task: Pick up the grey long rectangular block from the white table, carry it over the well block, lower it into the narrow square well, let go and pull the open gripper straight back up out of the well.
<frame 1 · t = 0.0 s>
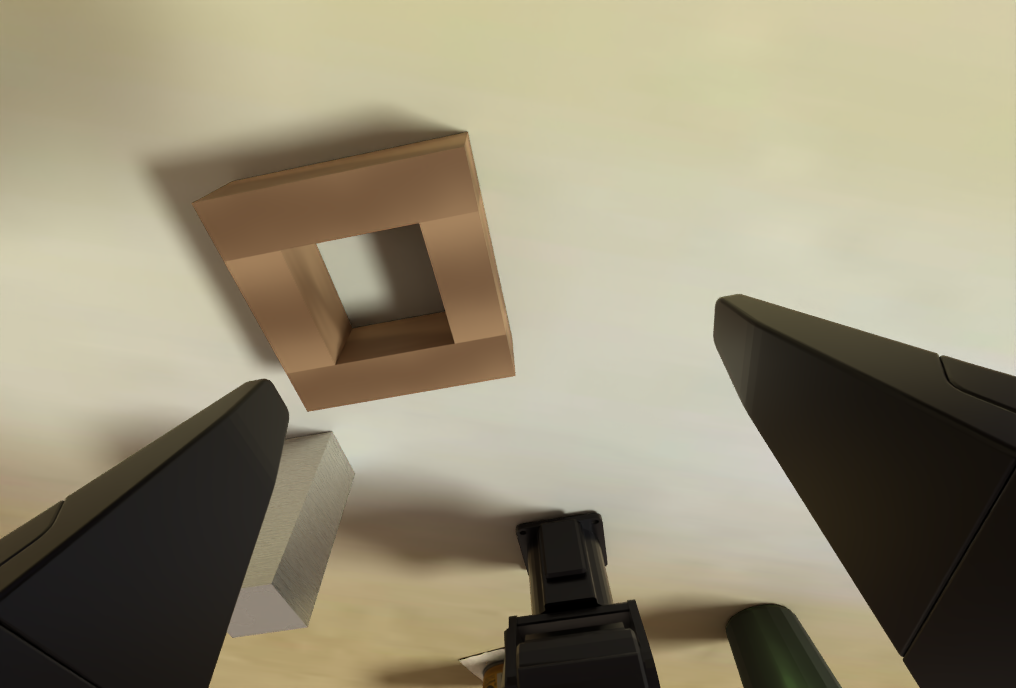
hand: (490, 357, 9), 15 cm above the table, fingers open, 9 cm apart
condiment: (509, 665, 48), on the table
well block: (387, 268, 24), on the table
potion bottle: (757, 619, 45), on the table
grey long rectangular block: (315, 458, 31), on the table
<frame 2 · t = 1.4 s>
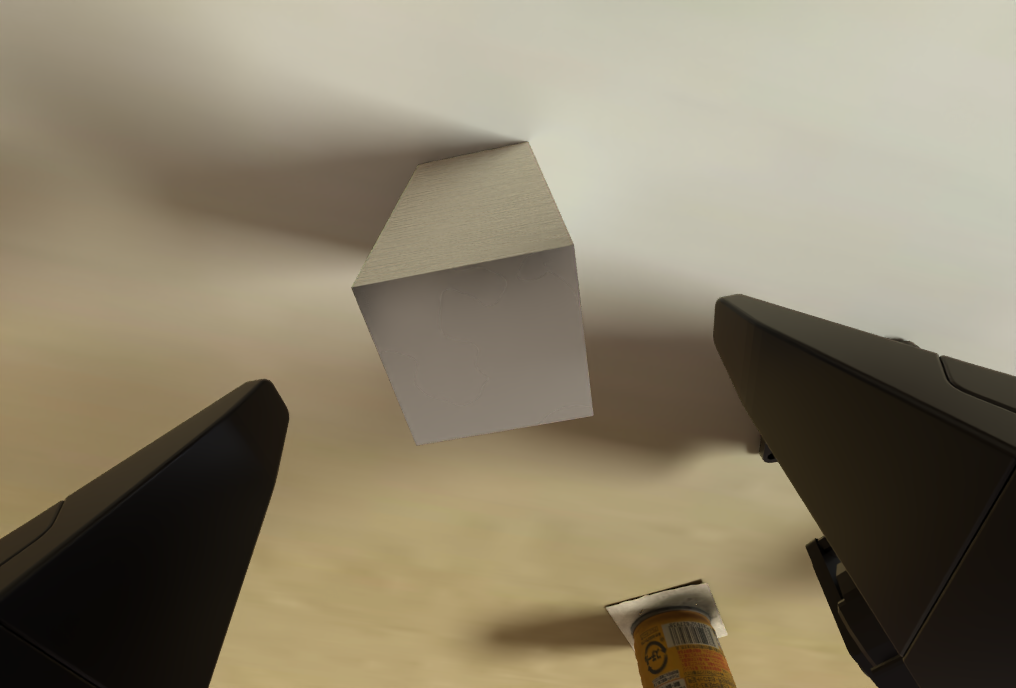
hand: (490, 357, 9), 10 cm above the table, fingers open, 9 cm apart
condiment: (667, 616, 35), on the table
grey long rectangular block: (484, 208, 18), on the table
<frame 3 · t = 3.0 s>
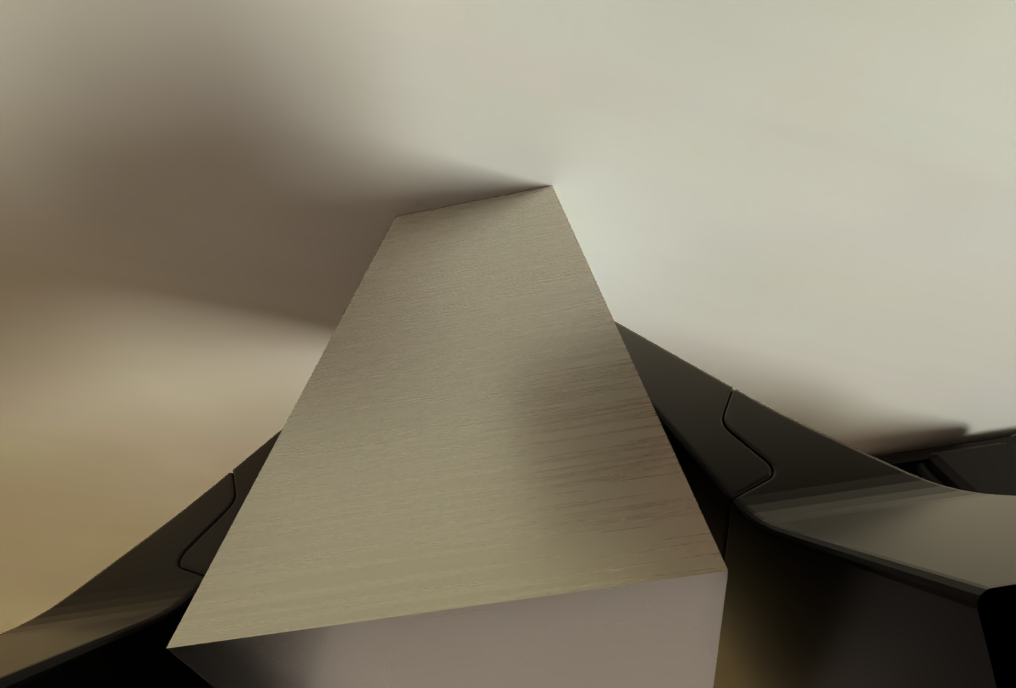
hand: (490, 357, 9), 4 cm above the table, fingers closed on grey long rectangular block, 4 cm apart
grey long rectangular block: (489, 273, 13), on the table, touching gripper
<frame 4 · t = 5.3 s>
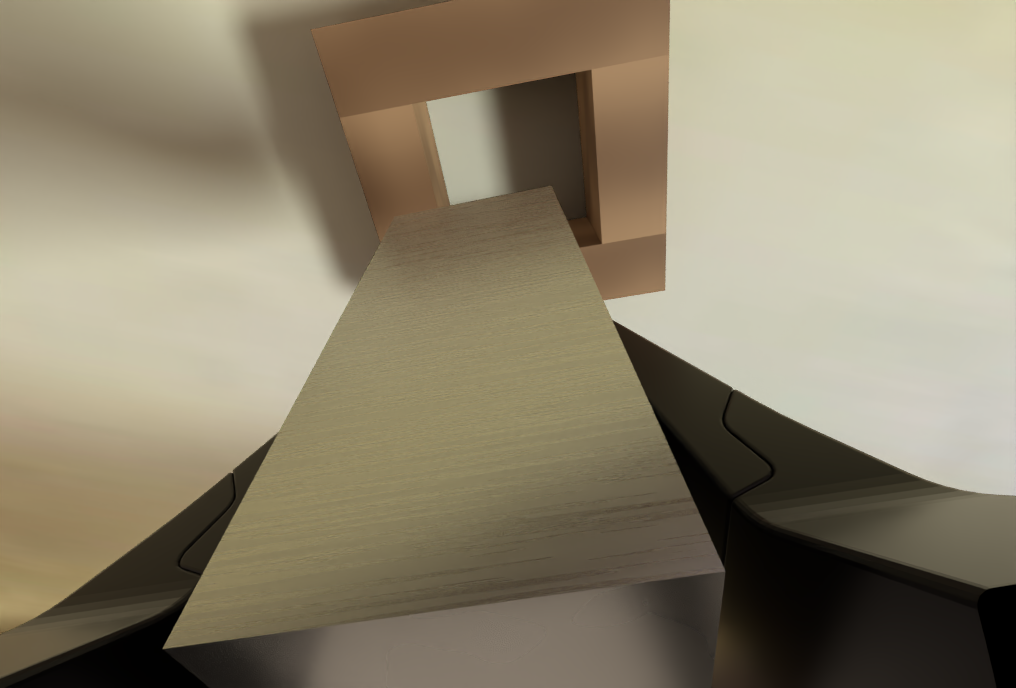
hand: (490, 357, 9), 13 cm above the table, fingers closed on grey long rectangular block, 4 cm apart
well block: (511, 160, 20), on the table
grey long rectangular block: (488, 273, 13), point 9 cm above the table, touching gripper
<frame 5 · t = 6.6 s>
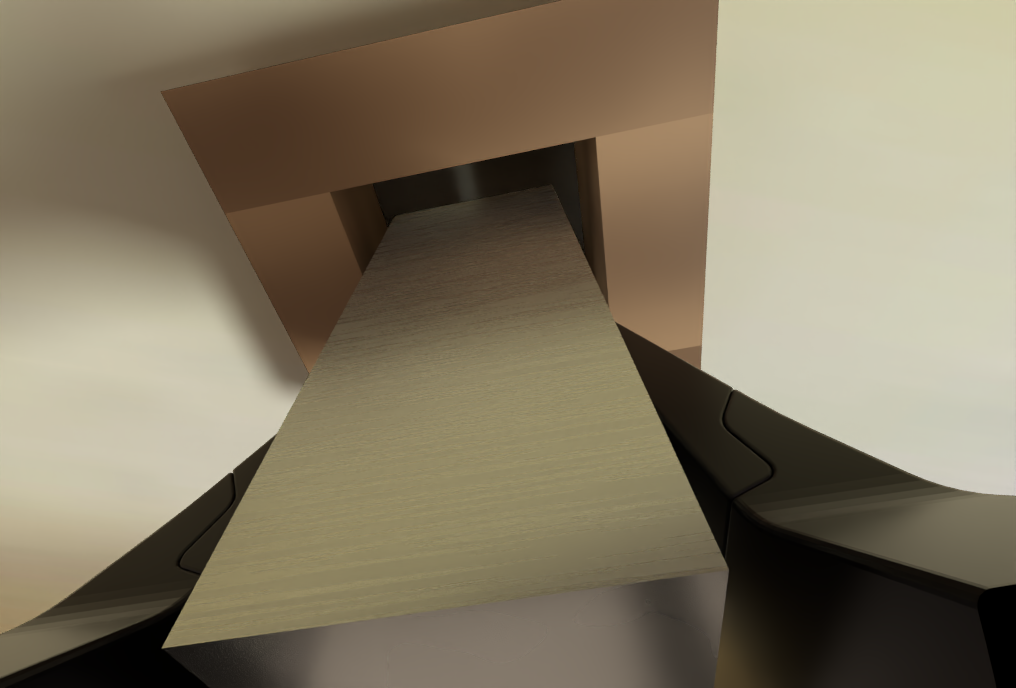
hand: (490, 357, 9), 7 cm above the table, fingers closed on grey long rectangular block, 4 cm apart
well block: (487, 237, 15), on the table
grey long rectangular block: (488, 272, 13), point 3 cm above the table, touching gripper
when the fingers open (5 cm above the table, at t = 7.6 s): grey long rectangular block drops 1 cm, resting in well block.
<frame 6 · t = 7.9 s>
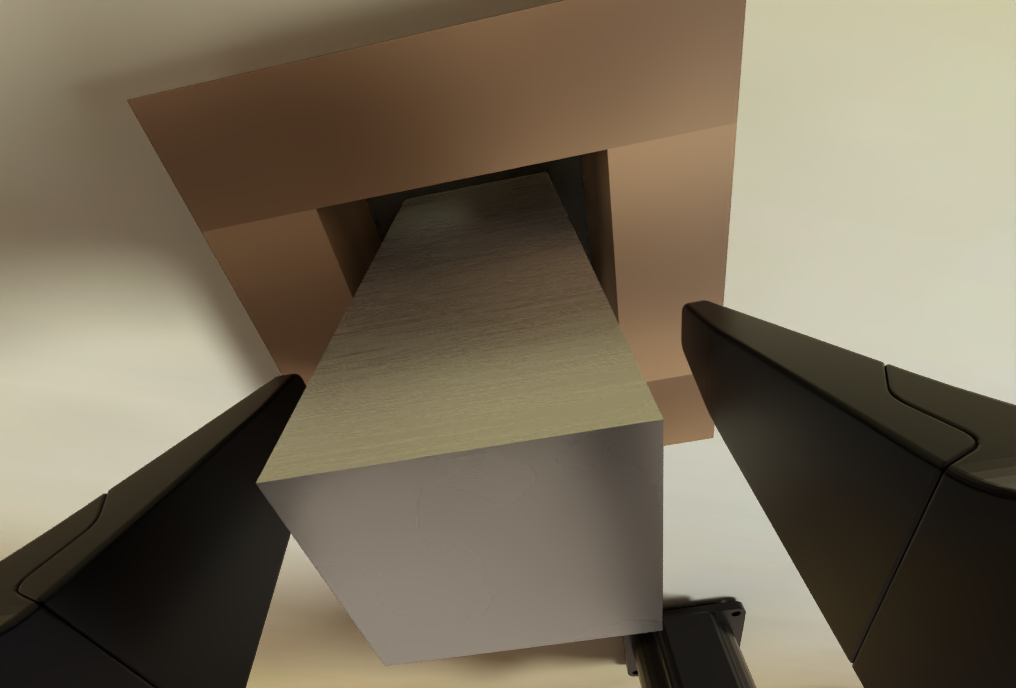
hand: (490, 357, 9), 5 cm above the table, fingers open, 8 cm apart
well block: (488, 252, 14), on the table
grey long rectangular block: (489, 252, 14), resting in well block
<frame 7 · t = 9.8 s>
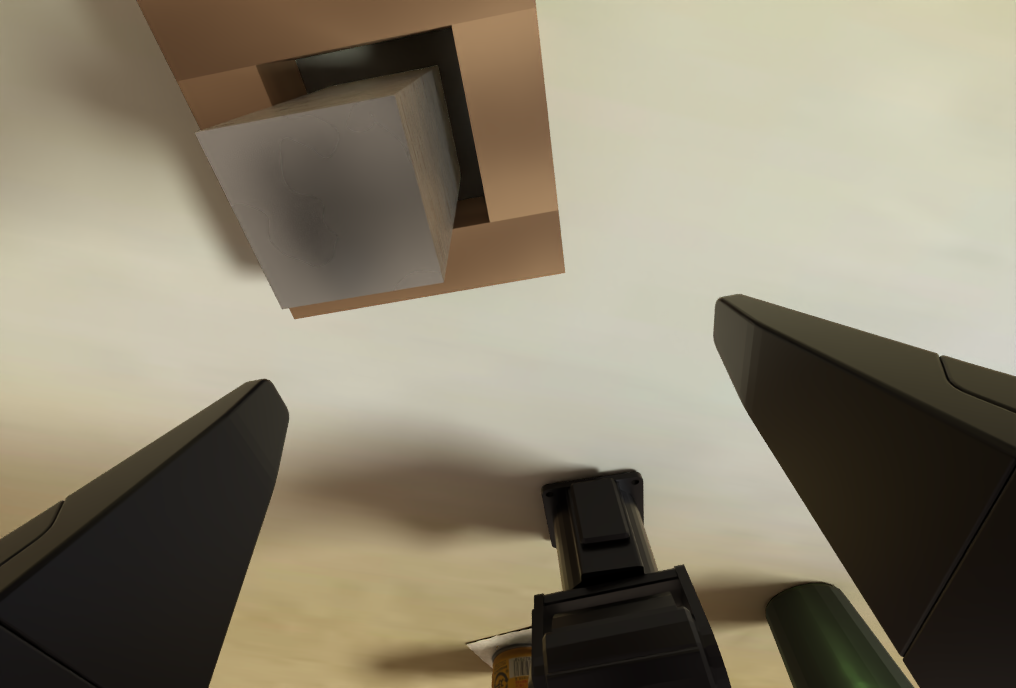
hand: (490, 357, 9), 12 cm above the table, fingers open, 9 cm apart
condiment: (521, 650, 44), on the table
well block: (400, 132, 18), on the table
potion bottle: (800, 599, 40), on the table
grey long rectangular block: (400, 132, 18), resting in well block
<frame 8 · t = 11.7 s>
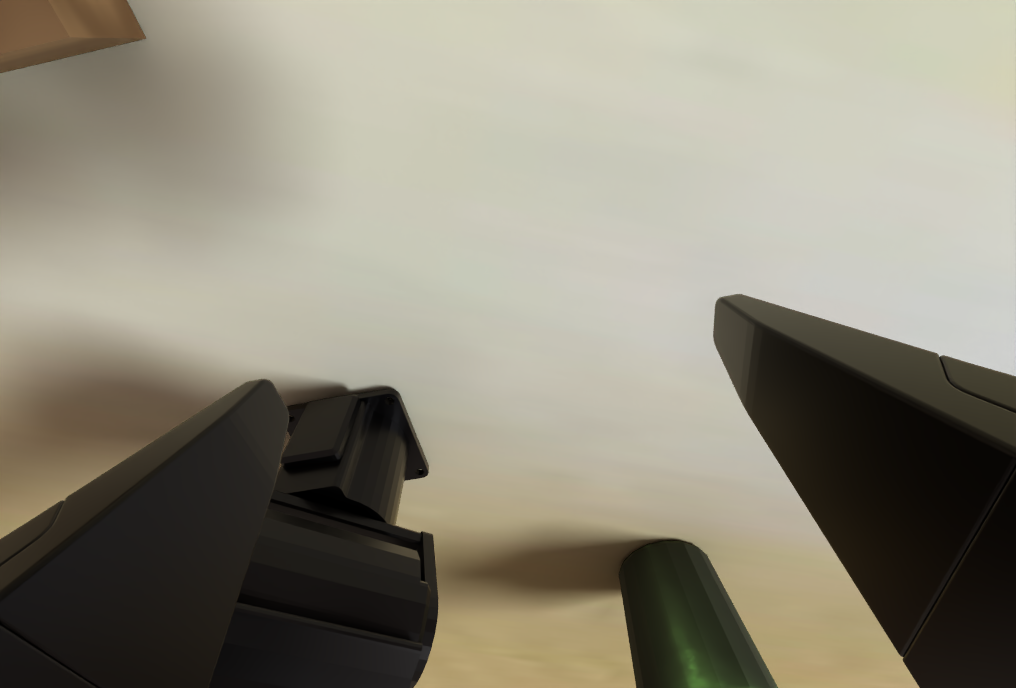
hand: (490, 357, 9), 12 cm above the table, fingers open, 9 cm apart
potion bottle: (661, 562, 35), on the table
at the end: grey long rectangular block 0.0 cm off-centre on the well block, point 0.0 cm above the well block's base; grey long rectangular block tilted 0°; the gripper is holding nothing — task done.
